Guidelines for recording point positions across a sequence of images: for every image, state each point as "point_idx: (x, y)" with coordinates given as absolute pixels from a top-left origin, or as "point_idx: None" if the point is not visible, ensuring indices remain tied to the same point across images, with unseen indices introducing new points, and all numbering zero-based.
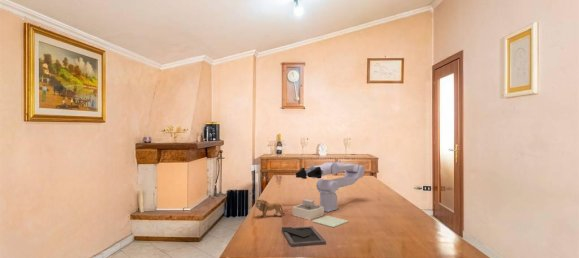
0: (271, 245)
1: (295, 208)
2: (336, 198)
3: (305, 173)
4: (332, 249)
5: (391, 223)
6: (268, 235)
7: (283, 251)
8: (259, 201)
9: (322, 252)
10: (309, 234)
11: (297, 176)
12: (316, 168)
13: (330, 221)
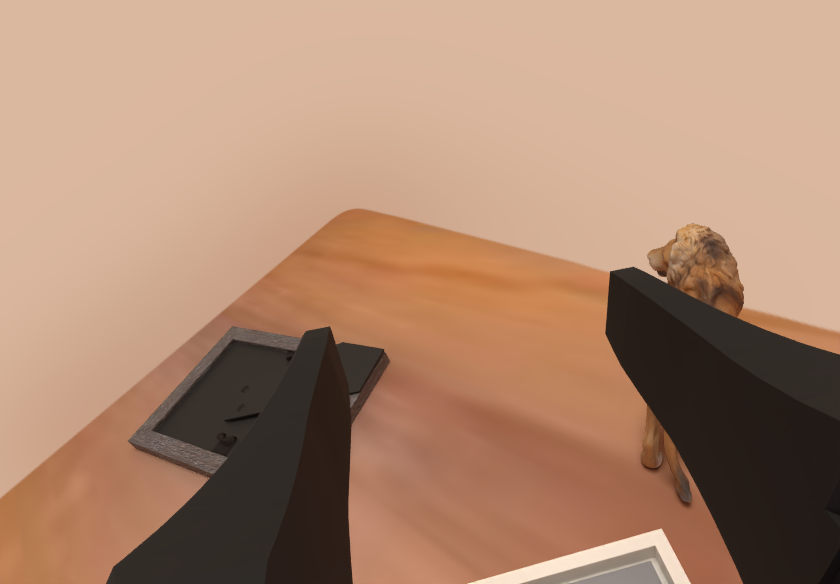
0: (297, 290)
1: (617, 544)
2: None
3: (805, 556)
4: (94, 440)
5: None
6: (380, 304)
7: (235, 305)
8: (674, 242)
9: (120, 397)
10: (239, 433)
11: (611, 327)
12: (213, 512)
13: None
